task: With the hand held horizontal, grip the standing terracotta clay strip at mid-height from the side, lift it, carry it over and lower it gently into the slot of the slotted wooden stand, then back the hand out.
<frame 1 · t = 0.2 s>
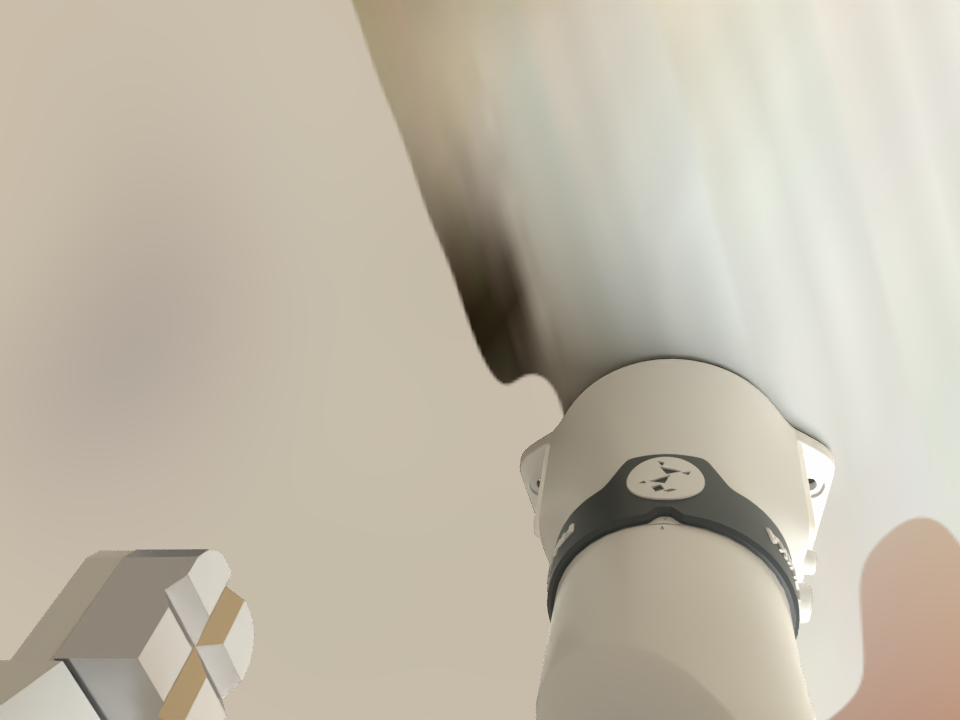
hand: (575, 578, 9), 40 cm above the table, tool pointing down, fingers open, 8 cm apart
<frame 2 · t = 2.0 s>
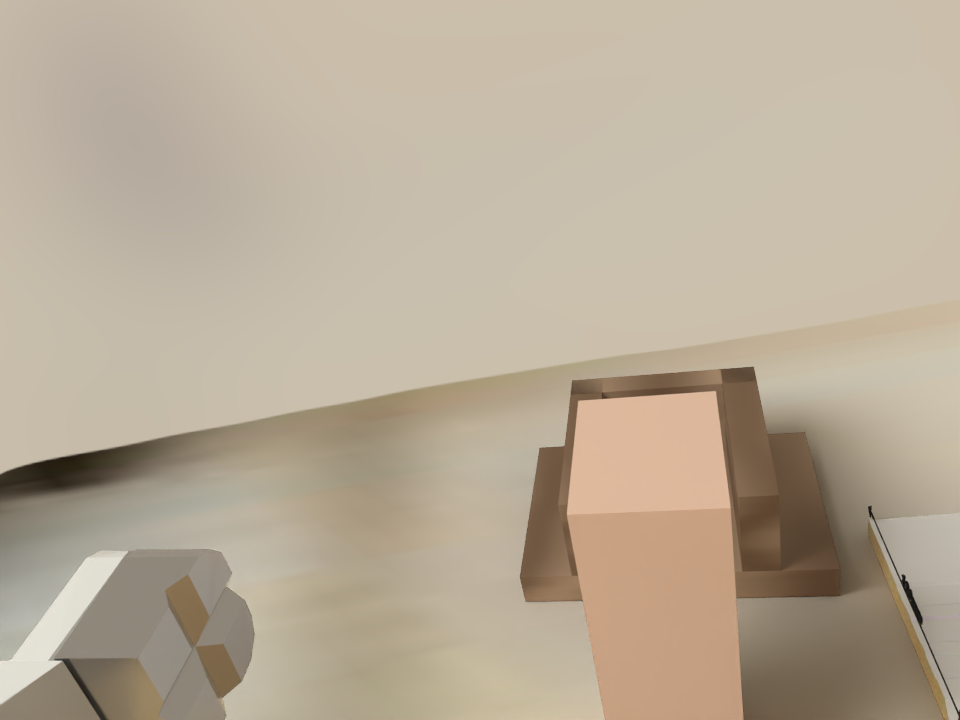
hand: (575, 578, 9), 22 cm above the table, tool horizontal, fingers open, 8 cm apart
slotted wooden stand: (672, 525, 41), on the table
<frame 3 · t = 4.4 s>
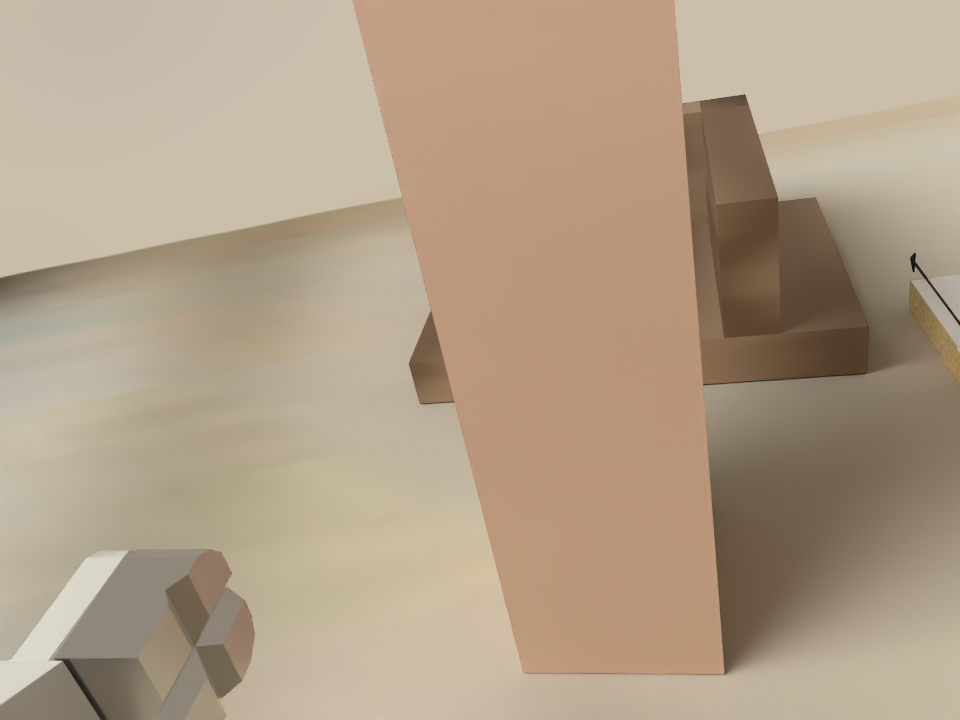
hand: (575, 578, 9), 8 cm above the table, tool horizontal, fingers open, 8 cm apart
clay strip: (624, 580, 20), on the table
slotted wooden stand: (632, 313, 29), on the table
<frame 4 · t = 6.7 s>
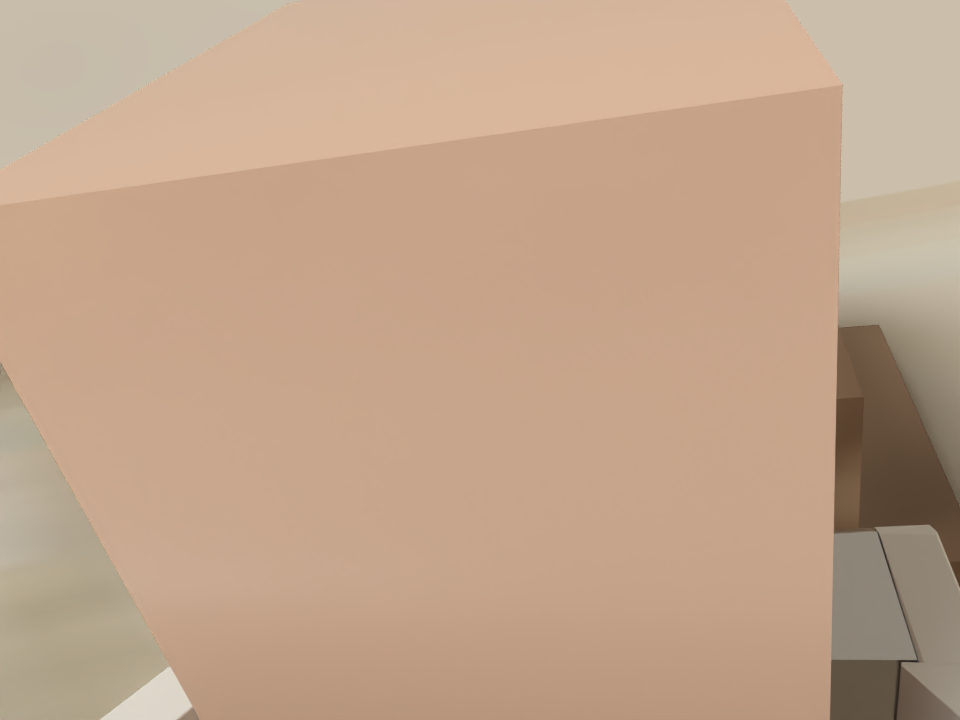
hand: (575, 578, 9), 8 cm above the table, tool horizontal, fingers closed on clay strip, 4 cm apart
slotted wooden stand: (645, 482, 23), on the table
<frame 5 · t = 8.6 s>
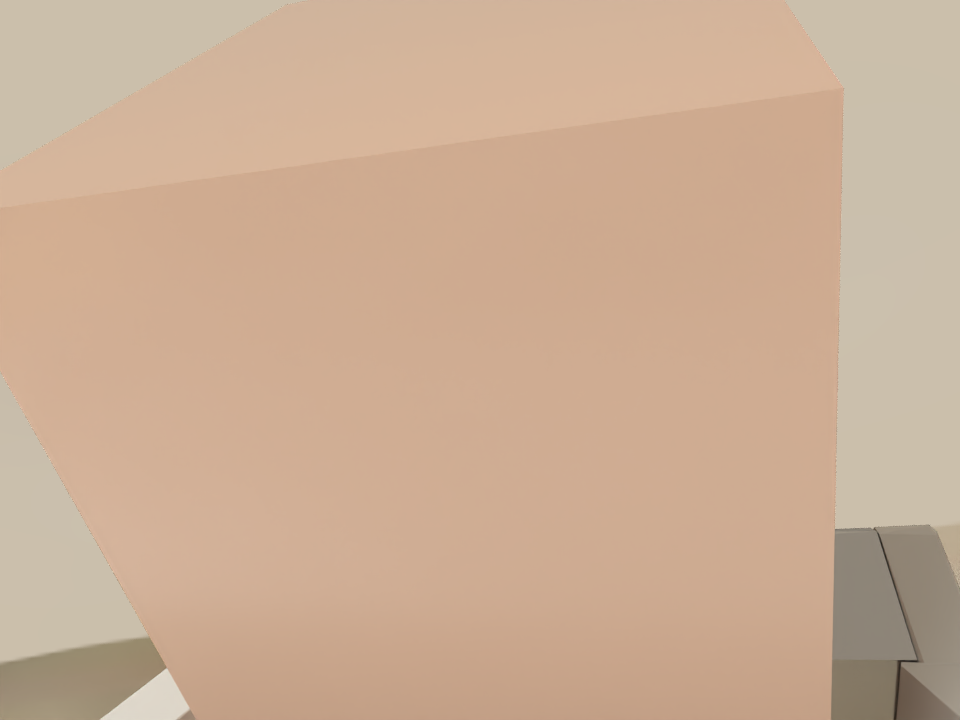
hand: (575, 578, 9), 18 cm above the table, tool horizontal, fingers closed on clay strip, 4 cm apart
when the fingers open (11 cm above the table, at t = 10.9 s): clay strip drops 1 cm, resting on slotted wooden stand.
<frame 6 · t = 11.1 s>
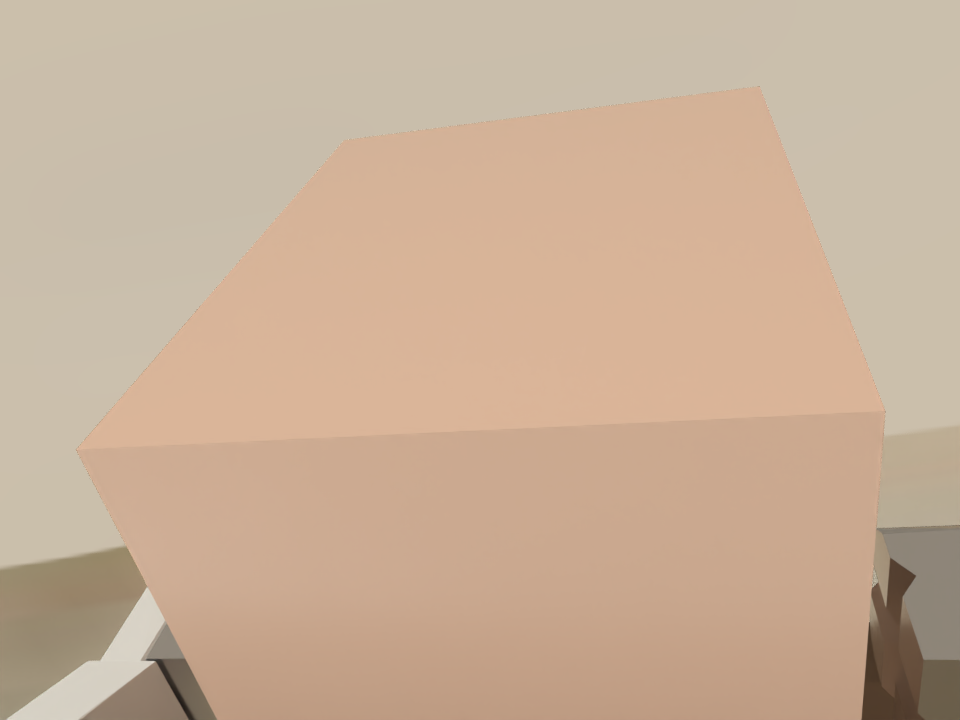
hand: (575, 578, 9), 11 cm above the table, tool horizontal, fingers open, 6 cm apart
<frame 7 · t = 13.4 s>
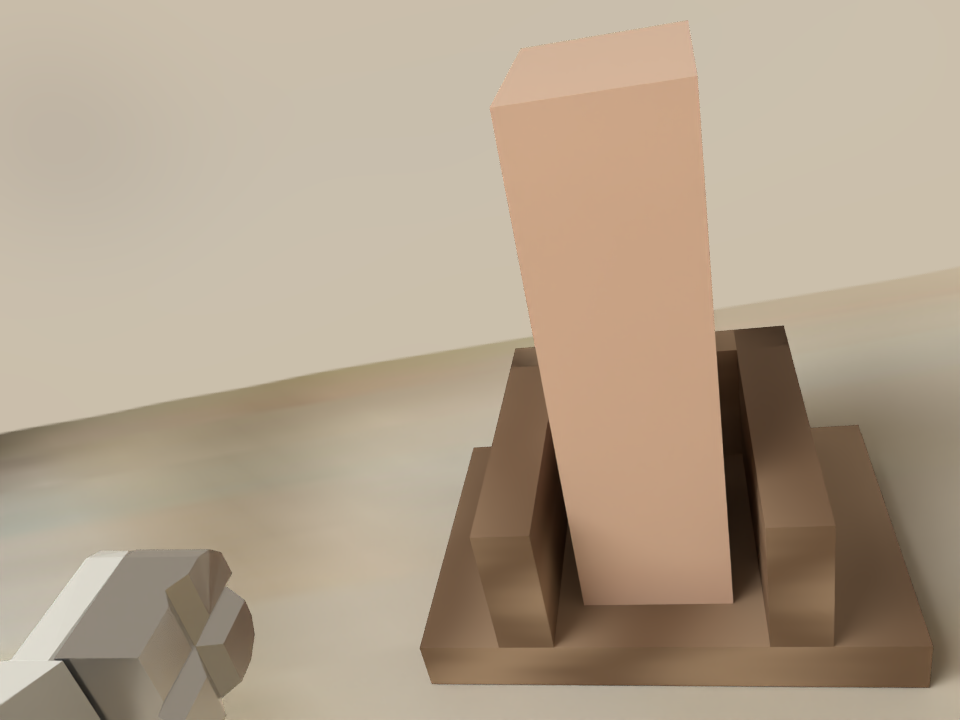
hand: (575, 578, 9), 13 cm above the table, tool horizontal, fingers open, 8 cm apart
clay strip: (656, 540, 26), point 1 cm above the table, touching slotted wooden stand
slotted wooden stand: (661, 563, 27), on the table
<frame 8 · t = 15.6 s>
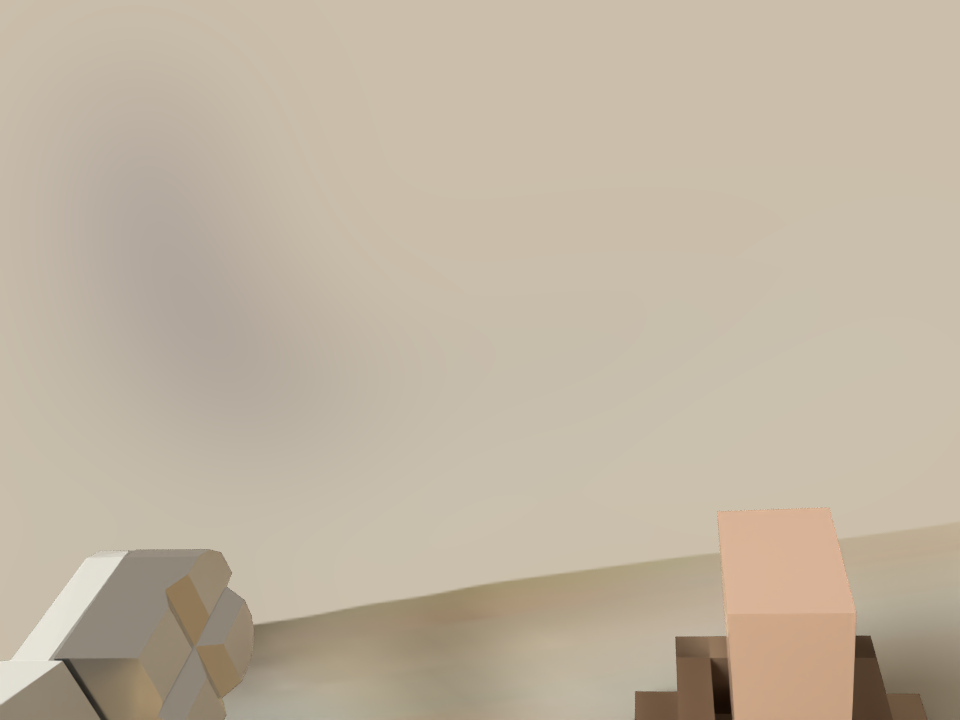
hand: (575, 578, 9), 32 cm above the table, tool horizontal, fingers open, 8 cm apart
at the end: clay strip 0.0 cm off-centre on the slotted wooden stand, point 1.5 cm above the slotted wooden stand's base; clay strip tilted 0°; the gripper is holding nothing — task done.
